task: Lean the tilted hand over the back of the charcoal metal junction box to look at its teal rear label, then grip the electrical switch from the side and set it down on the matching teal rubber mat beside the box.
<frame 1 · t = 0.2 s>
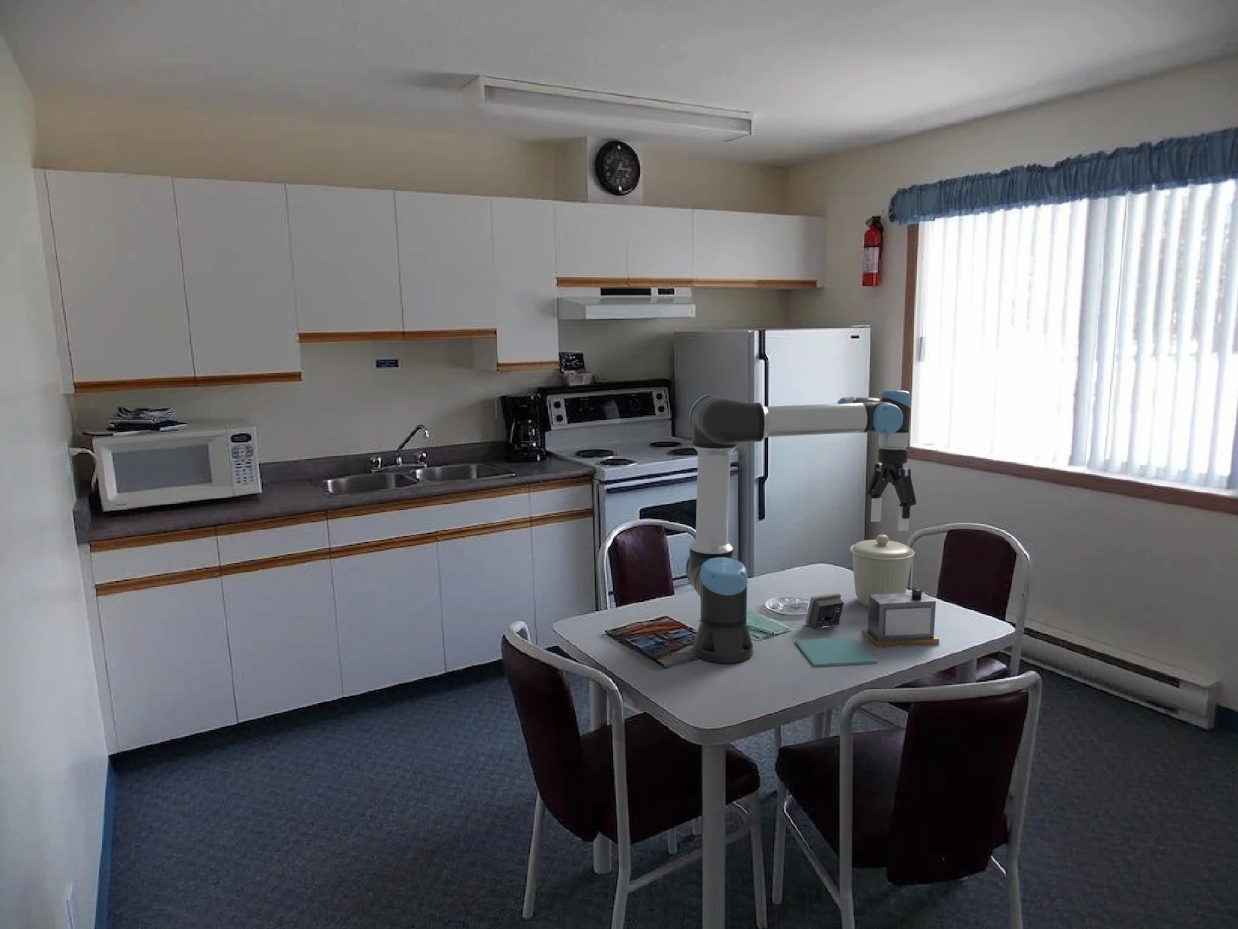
hand: (889, 526, 217), 28 cm above the table, tool pointing down, fingers open, 13 cm apart
service mat: (834, 652, 204), on the table
electrical switch: (825, 626, 222), on the table
junction box: (899, 639, 211), on the table
canister: (879, 603, 239), on the table
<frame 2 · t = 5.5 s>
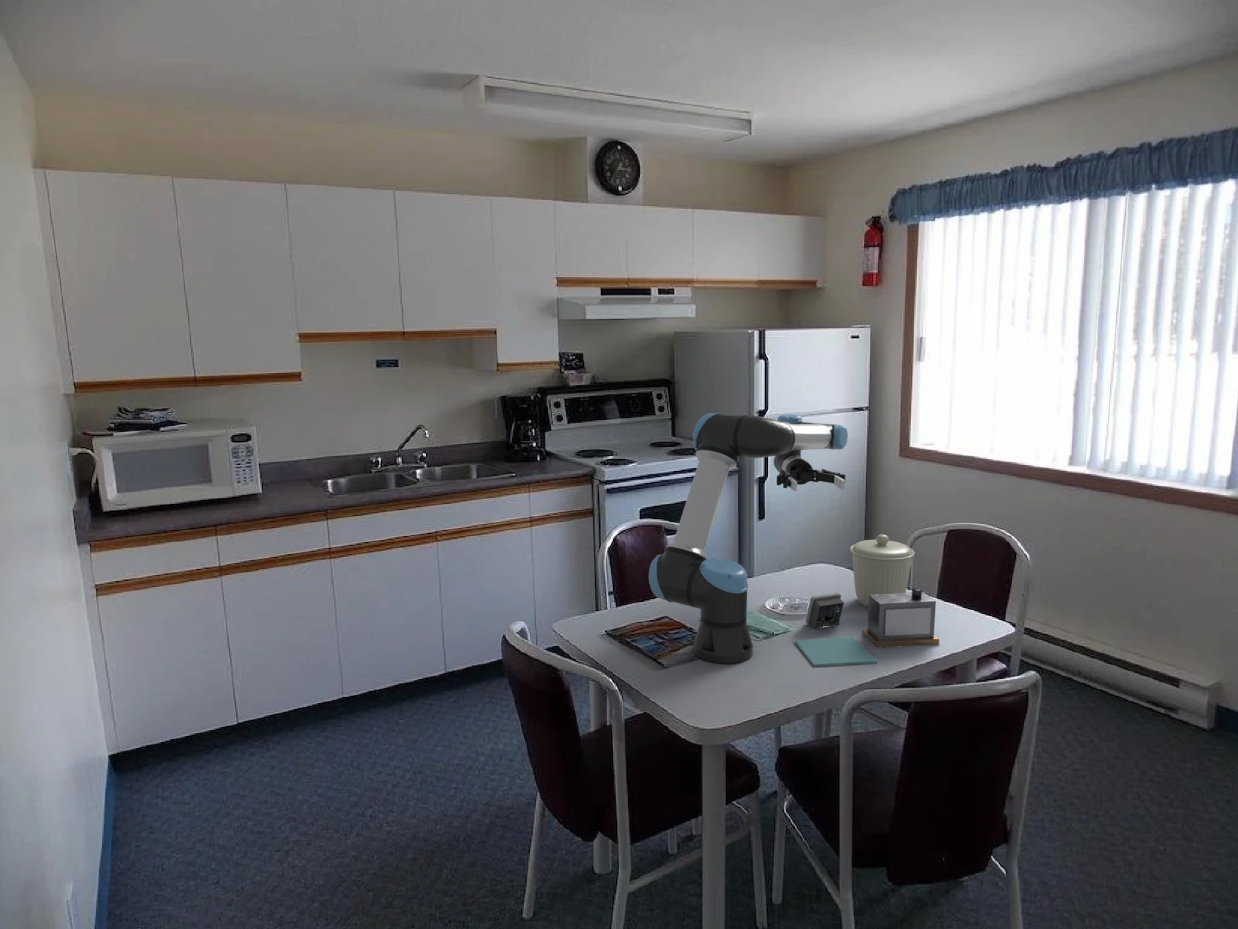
hand: (819, 485, 224), 38 cm above the table, tool horizontal, fingers open, 13 cm apart
nothing on the table moved.
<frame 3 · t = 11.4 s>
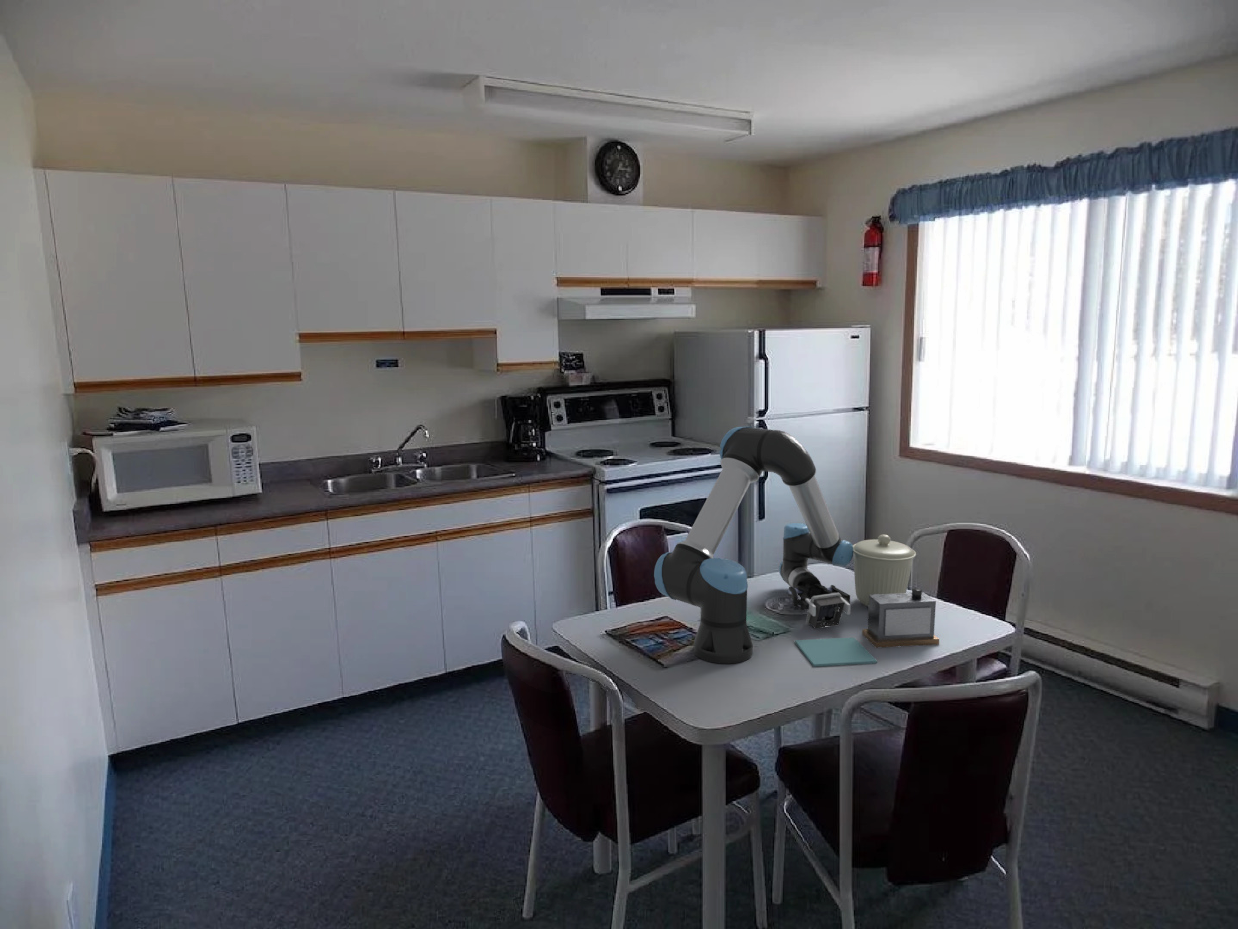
hand: (831, 610, 216), 6 cm above the table, tool horizontal, fingers closed on electrical switch, 9 cm apart
electrical switch: (825, 626, 222), on the table, touching gripper
canister: (879, 603, 238), on the table, touching arm
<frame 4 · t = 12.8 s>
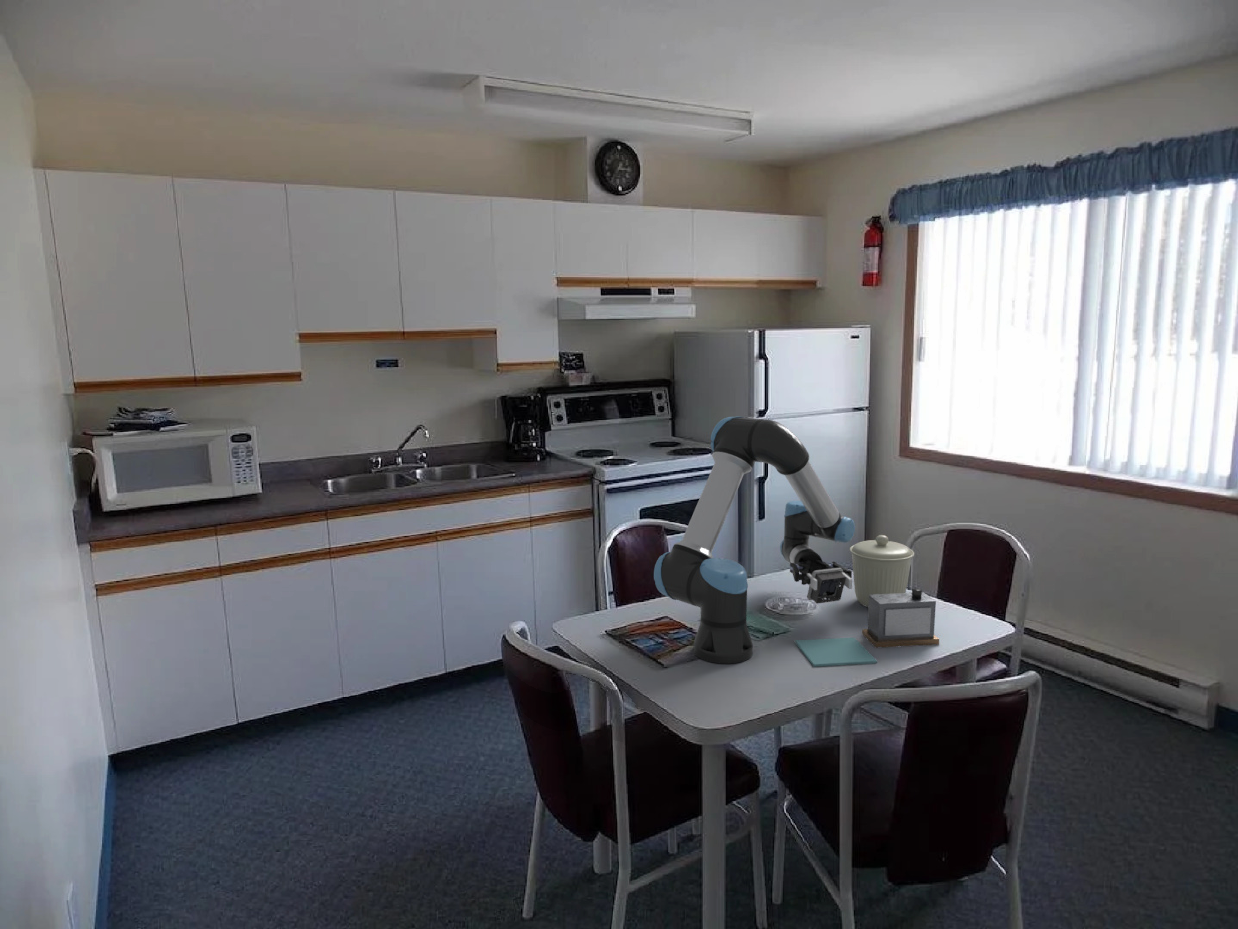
hand: (833, 584, 215), 13 cm above the table, tool horizontal, fingers closed on electrical switch, 9 cm apart
electrical switch: (826, 601, 221), point 7 cm above the table, touching gripper
canister: (879, 604, 238), on the table
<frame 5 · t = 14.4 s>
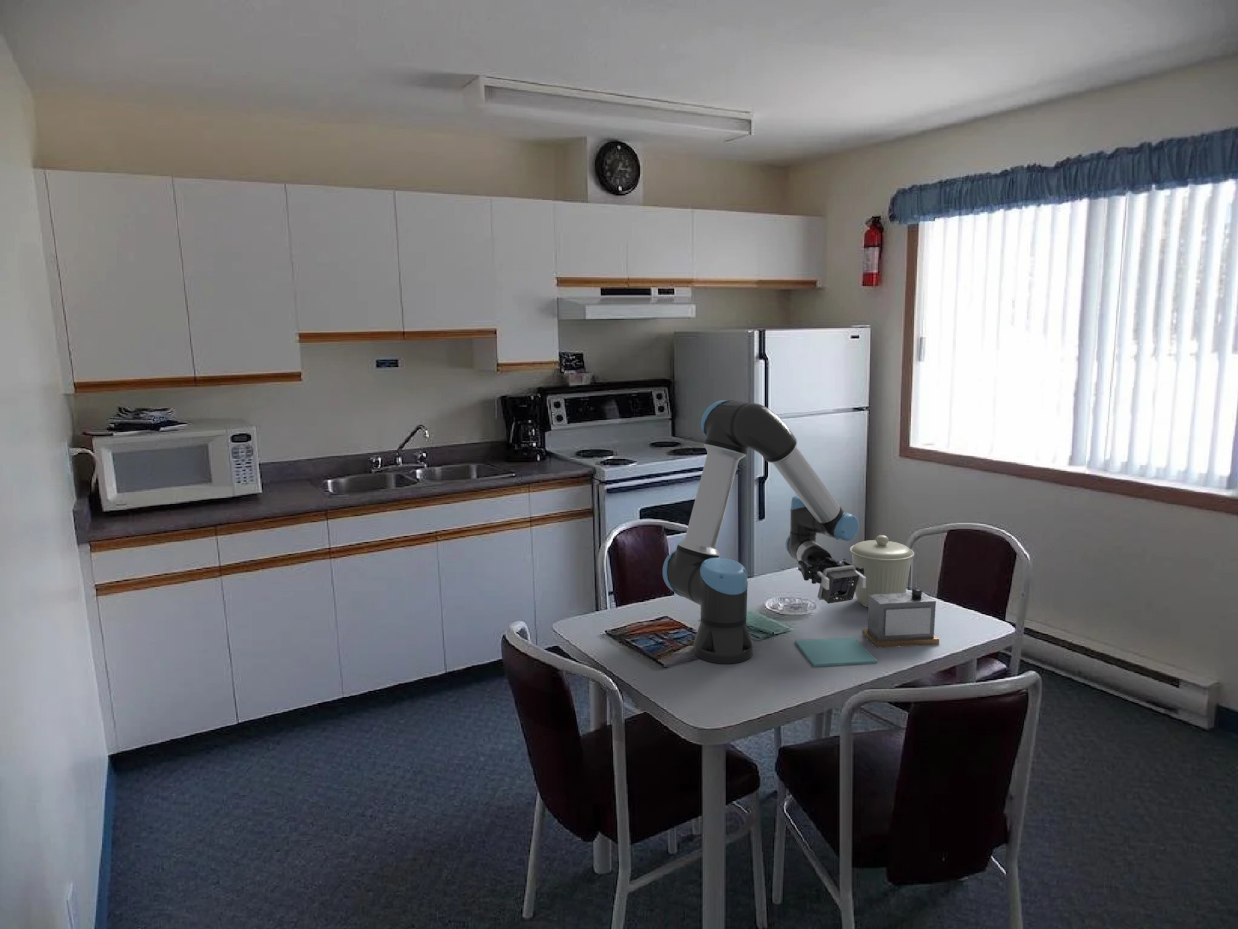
hand: (846, 583, 202), 18 cm above the table, tool horizontal, fingers closed on electrical switch, 9 cm apart
electrical switch: (838, 601, 207), point 12 cm above the table, touching gripper
everything else where it was.
when the fingers open (8 cm above the table, at t = 17.3 s): electrical switch drops 1 cm, resting on service mat.
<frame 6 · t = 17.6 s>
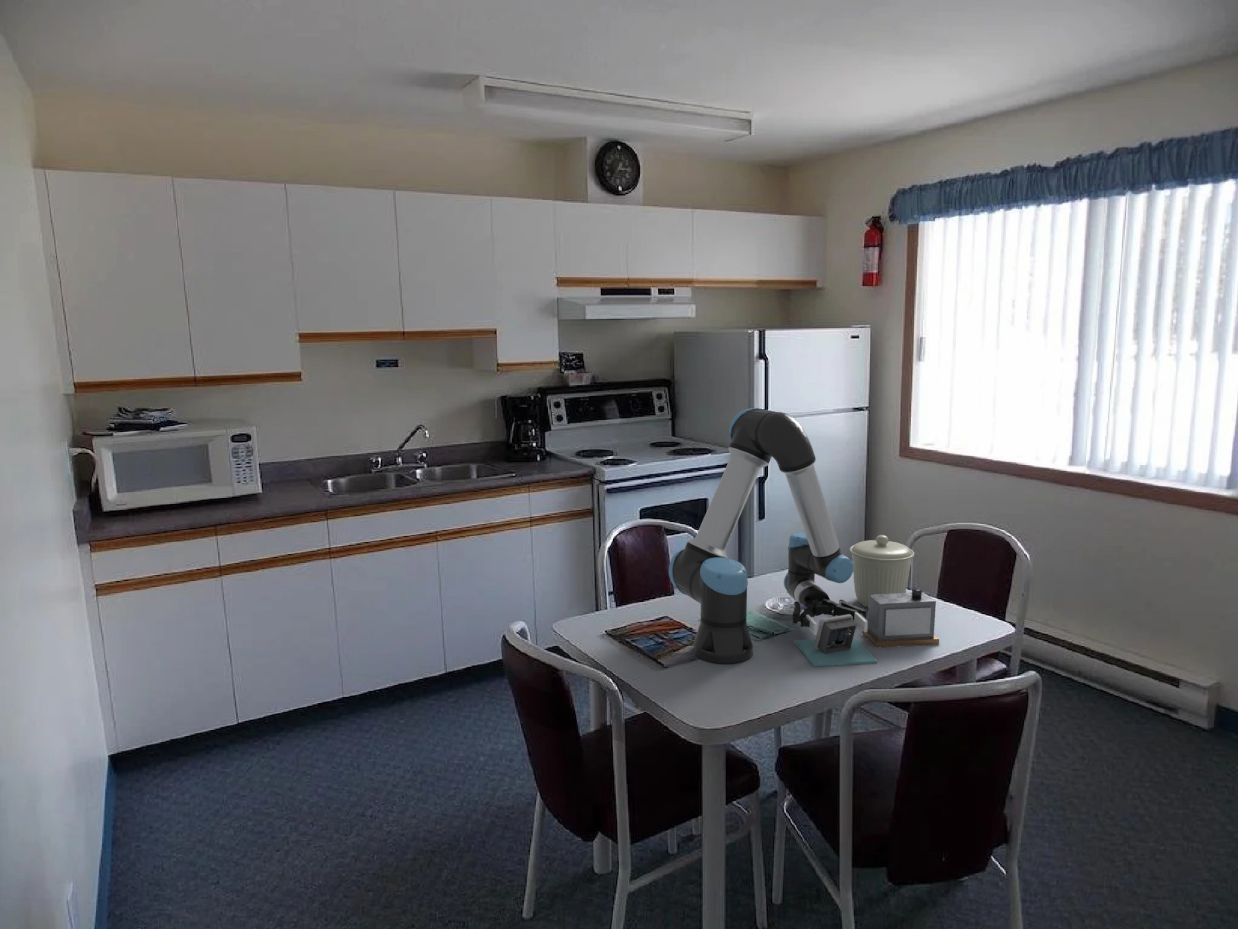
hand: (840, 628, 199), 8 cm above the table, tool horizontal, fingers open, 12 cm apart
electrical switch: (835, 651, 204), resting on service mat
everything else where it was.
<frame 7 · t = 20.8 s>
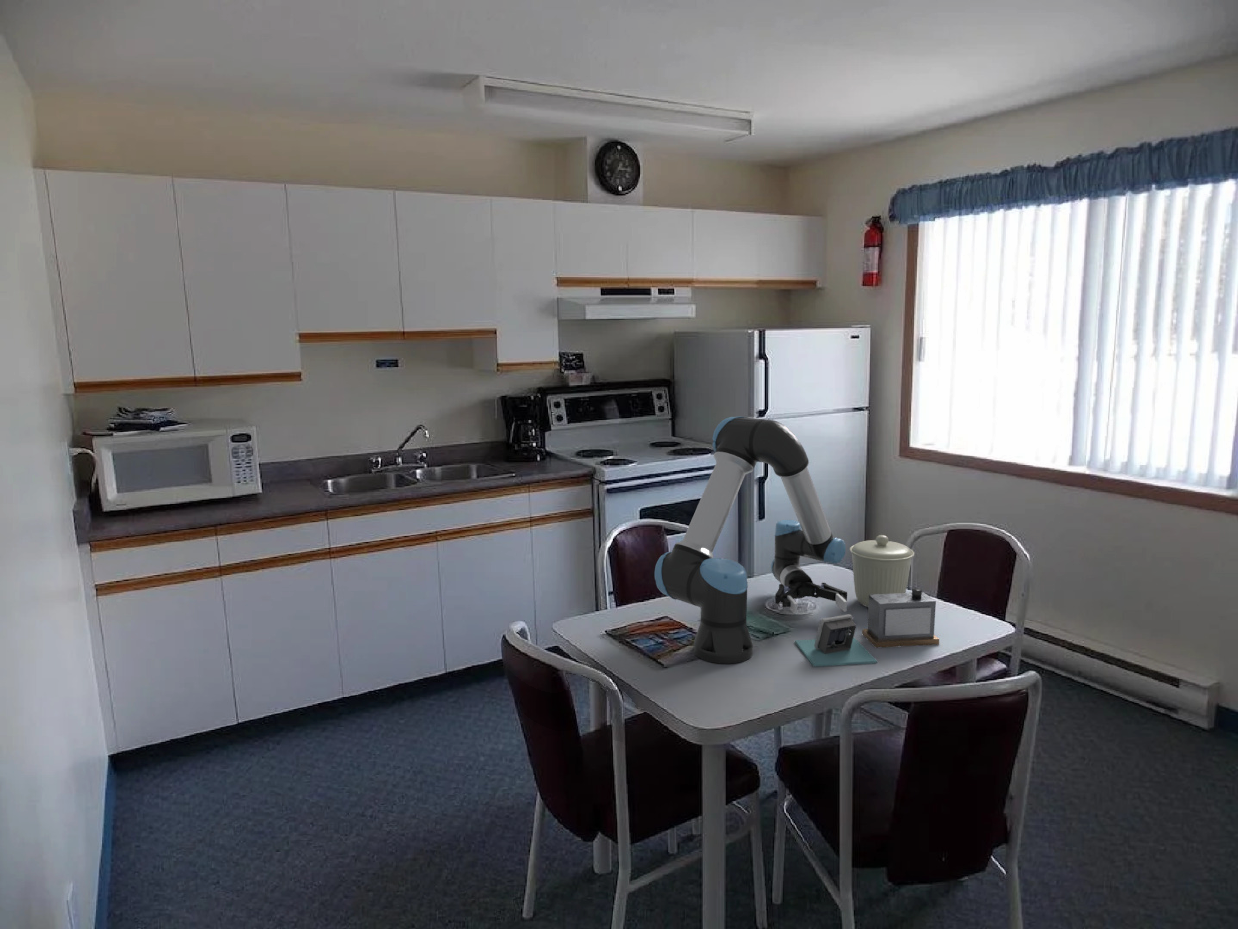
hand: (820, 607, 213), 8 cm above the table, tool horizontal, fingers open, 13 cm apart
nothing on the table moved.
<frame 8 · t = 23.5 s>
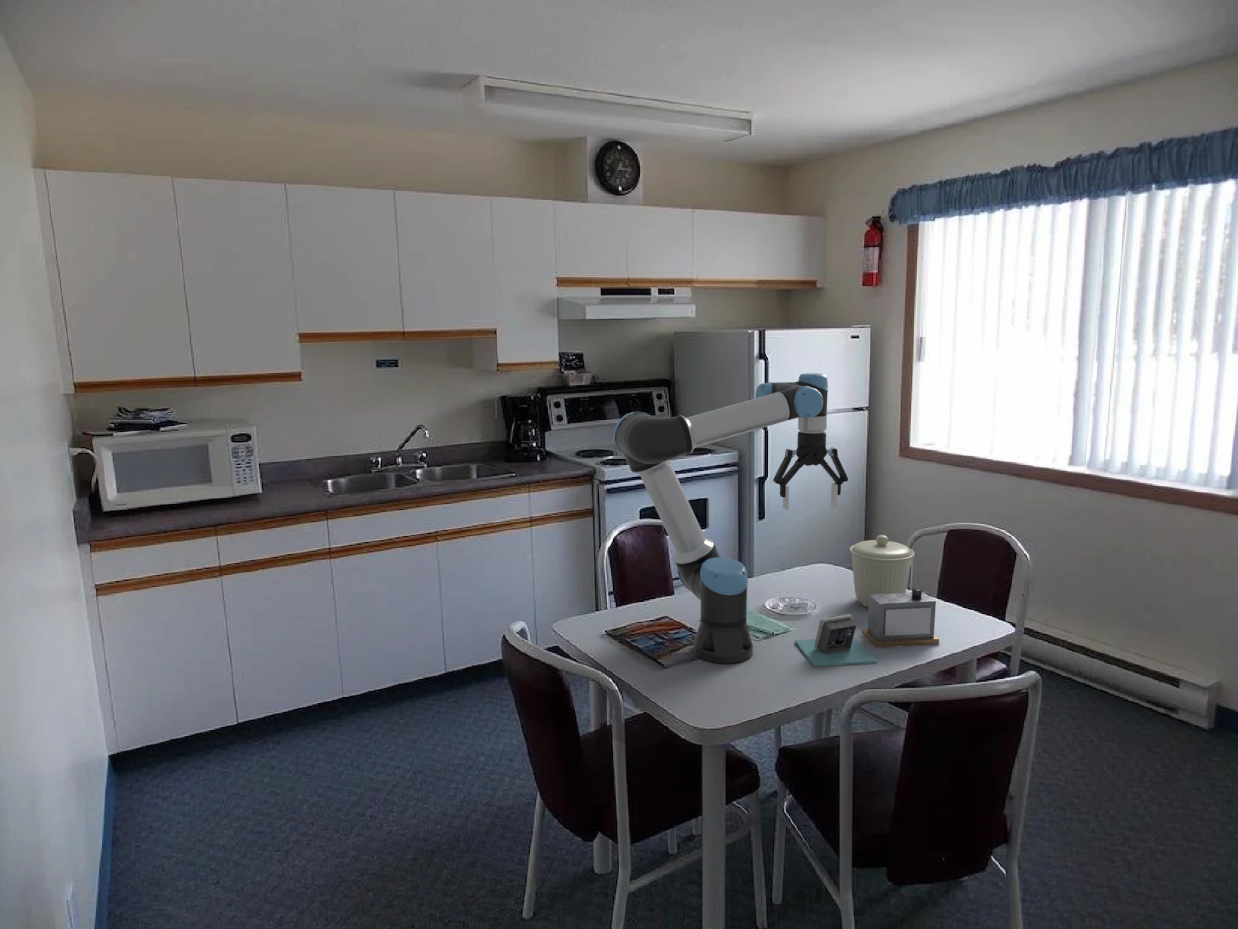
hand: (809, 507, 220), 33 cm above the table, tool pointing down, fingers open, 13 cm apart
nothing on the table moved.
at the end: electrical switch inside the target area on the service mat (0.3 cm from its centre), point 0.4 cm above the service mat's base; electrical switch tilted 0°; the gripper is holding nothing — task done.
